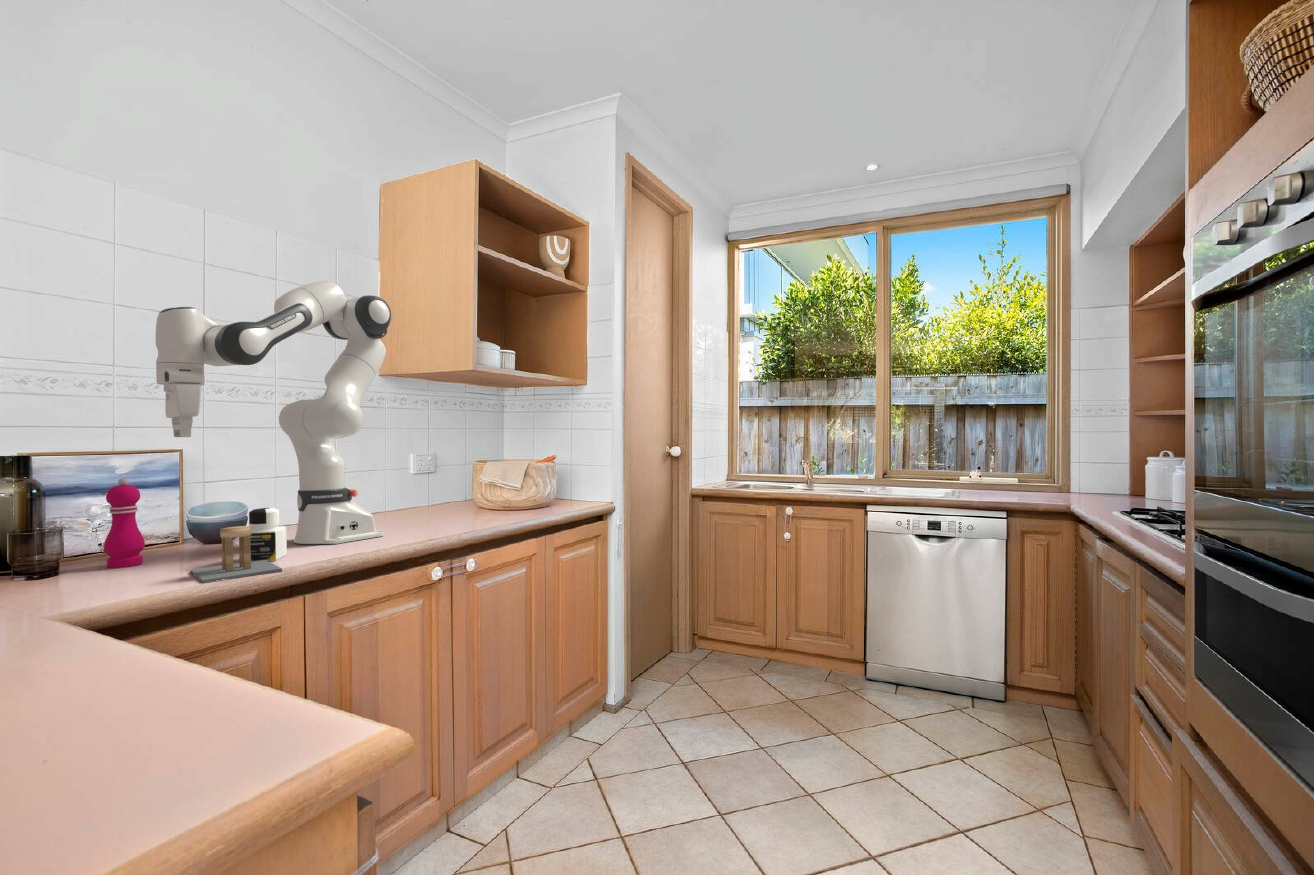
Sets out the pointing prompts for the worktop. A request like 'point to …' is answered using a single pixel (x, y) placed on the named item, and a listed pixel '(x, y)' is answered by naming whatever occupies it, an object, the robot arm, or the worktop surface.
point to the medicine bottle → (267, 535)
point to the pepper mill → (123, 527)
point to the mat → (235, 571)
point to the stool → (244, 547)
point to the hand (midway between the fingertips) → (182, 437)
